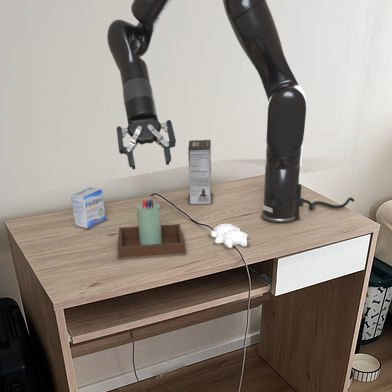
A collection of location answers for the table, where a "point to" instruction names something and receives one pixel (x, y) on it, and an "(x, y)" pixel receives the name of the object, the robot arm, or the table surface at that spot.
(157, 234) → the pen pot
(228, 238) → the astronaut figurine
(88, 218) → the medicine box
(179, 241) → the tray
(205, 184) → the coffee box
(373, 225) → the table surface
